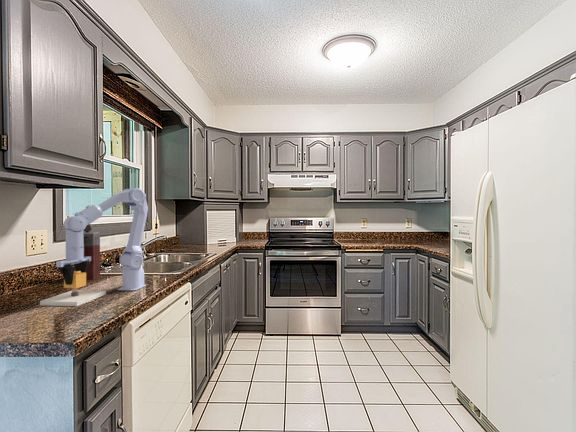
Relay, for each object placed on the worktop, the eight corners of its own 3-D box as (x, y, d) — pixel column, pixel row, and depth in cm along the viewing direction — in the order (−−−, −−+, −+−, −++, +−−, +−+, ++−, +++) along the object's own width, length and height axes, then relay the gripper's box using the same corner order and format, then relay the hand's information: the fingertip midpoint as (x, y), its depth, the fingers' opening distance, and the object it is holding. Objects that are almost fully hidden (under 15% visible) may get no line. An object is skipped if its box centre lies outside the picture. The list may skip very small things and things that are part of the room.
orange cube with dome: (74, 284, 122) (74, 270, 122) (86, 285, 122) (86, 270, 122) (64, 287, 117) (63, 272, 117) (76, 288, 117) (75, 272, 117)
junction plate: (73, 293, 128) (73, 281, 128) (105, 294, 127) (105, 282, 127) (39, 305, 112) (39, 291, 112) (77, 306, 111) (76, 292, 111)
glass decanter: (71, 281, 150) (71, 223, 150) (81, 276, 161) (80, 223, 161) (92, 280, 152) (92, 223, 152) (100, 276, 163) (100, 223, 163)
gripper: (68, 249, 112) (68, 287, 112) (98, 245, 126) (98, 279, 126) (50, 249, 113) (51, 286, 113) (82, 245, 127) (82, 278, 127)
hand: (74, 282), depth 119 cm, fingers closed on orange cube with dome, 5 cm apart
